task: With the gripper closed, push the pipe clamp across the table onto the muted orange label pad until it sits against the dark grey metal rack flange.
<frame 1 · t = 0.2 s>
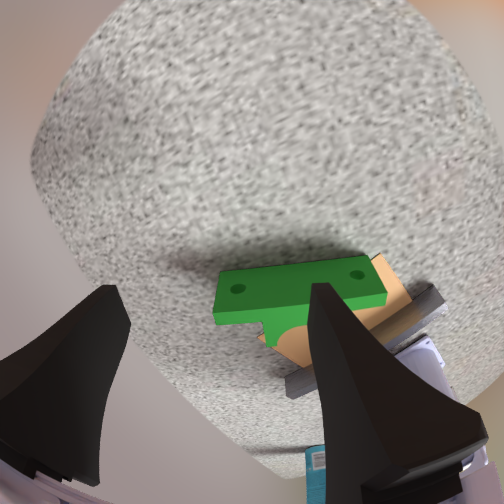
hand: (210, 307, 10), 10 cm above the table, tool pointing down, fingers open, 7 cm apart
pipe clamp: (295, 280, 22), on the table, touching rack flange
rack flange: (358, 339, 25), on the table
tube: (318, 447, 43), on the table
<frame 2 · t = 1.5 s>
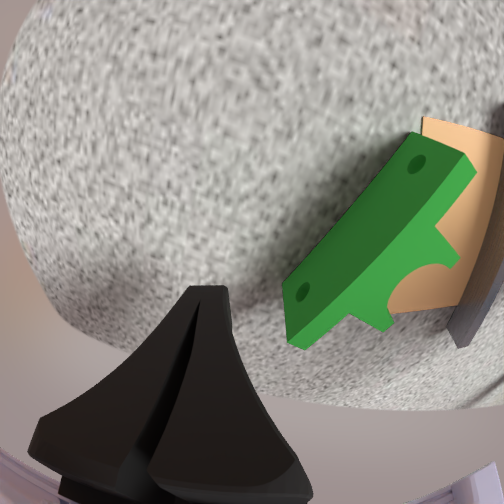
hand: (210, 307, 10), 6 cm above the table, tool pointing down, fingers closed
pipe clamp: (366, 228, 15), on the table, touching rack flange
rack flange: (489, 231, 14), on the table
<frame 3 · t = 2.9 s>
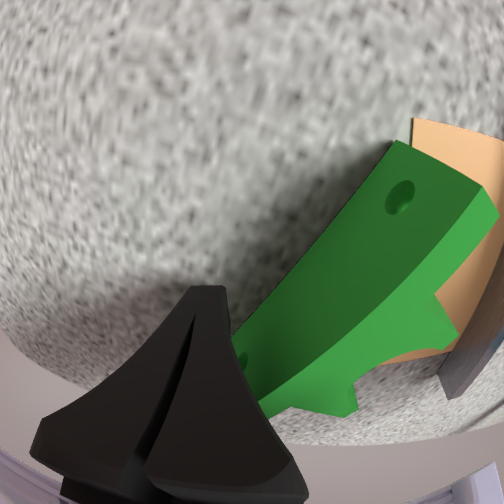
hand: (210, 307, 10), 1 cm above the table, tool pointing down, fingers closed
pipe clamp: (331, 277, 11), on the table, touching gripper, rack flange
rack flange: (497, 268, 11), on the table
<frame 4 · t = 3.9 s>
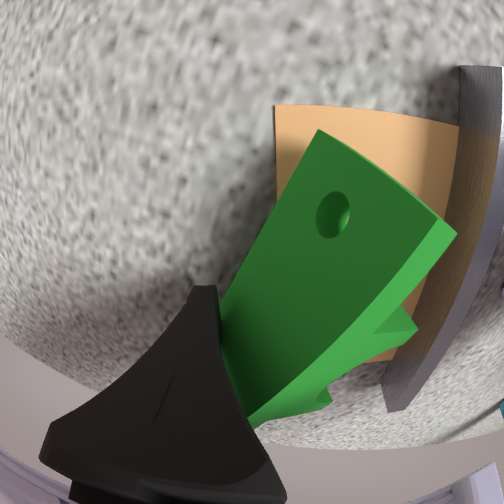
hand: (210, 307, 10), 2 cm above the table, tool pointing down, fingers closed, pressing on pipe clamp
pipe clamp: (273, 279, 11), point 1 cm above the table, touching gripper, rack flange
rack flange: (435, 269, 11), on the table
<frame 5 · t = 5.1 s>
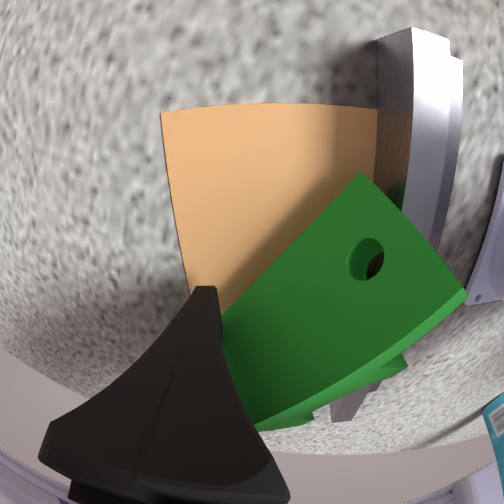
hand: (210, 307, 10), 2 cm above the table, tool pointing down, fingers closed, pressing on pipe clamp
pipe clamp: (276, 298, 11), point 1 cm above the table, touching gripper, rack flange
rack flange: (366, 273, 11), on the table
tube: (496, 399, 21), on the table
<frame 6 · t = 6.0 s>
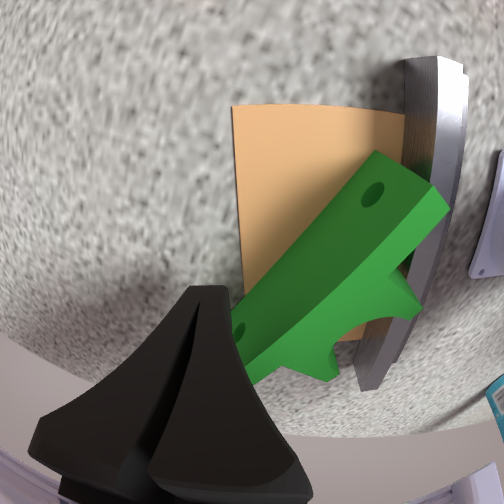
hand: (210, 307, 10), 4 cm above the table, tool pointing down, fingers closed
pipe clamp: (317, 262, 13), resting on rack flange
rack flange: (392, 249, 13), on the table
tube: (498, 380, 24), on the table
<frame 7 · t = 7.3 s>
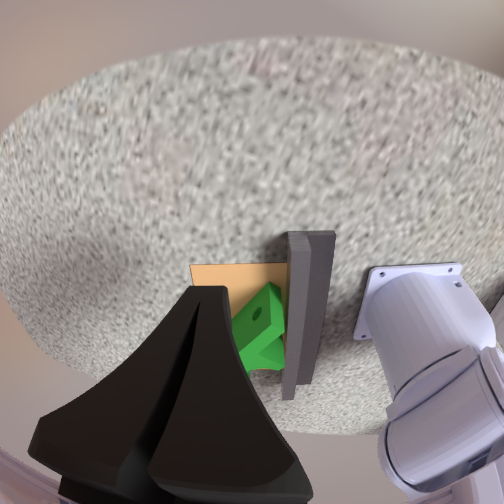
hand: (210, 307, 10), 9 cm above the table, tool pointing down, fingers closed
pipe clamp: (244, 329, 24), resting on rack flange
rack flange: (288, 325, 24), on the table
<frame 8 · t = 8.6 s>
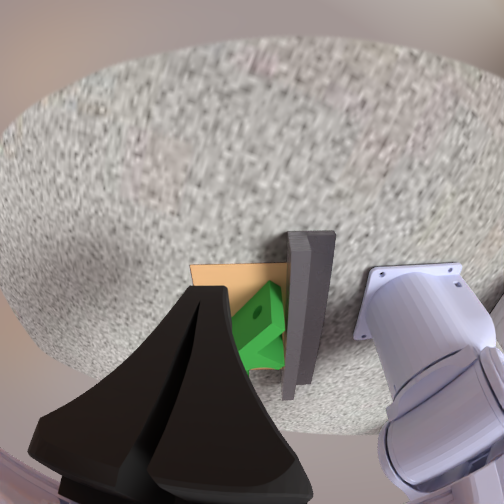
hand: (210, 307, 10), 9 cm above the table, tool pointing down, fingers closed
pipe clamp: (243, 328, 24), resting on rack flange
rack flange: (288, 325, 24), on the table
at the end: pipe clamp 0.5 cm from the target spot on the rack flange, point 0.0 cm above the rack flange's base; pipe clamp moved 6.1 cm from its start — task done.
